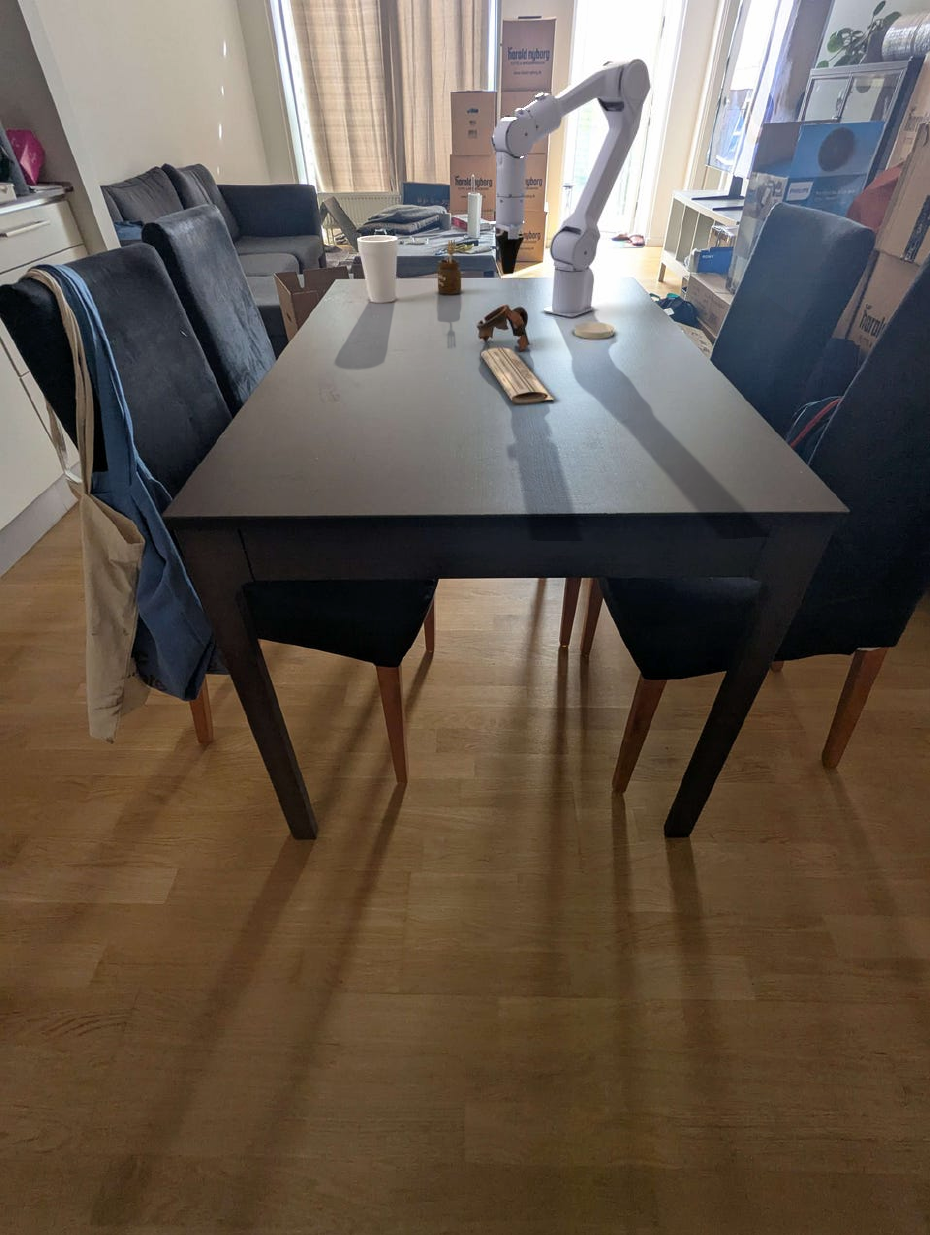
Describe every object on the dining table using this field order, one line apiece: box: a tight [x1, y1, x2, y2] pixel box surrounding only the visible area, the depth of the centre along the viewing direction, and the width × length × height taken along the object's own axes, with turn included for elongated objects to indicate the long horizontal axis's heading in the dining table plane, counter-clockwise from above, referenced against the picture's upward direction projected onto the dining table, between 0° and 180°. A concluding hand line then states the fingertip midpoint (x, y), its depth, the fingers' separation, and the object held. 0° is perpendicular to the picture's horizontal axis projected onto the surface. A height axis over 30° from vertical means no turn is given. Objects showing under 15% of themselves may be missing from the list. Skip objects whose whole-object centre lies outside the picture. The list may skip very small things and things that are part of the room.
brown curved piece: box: [476, 304, 530, 352], centre depth 121 cm, size 12×10×8 cm
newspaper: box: [481, 347, 555, 404], centre depth 107 cm, size 24×7×2 cm, turn 11°
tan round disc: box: [573, 321, 615, 340], centre depth 127 cm, size 8×8×1 cm
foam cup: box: [357, 234, 399, 304], centre depth 148 cm, size 10×9×13 cm
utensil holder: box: [437, 239, 462, 296], centre depth 153 cm, size 6×6×12 cm
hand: (507, 273), depth 130 cm, fingers closed
